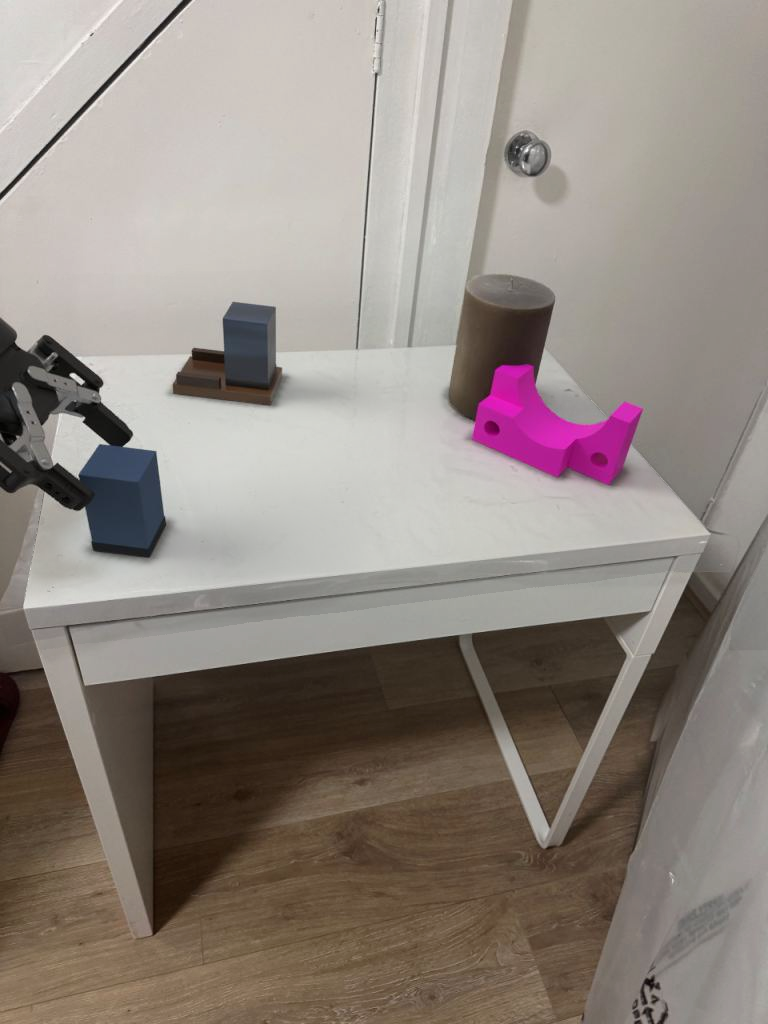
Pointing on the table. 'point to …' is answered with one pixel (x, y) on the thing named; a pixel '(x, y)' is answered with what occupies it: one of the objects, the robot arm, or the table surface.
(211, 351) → the stand
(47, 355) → the robot arm
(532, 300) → the pillar candle
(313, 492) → the table surface
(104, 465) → the blue rectangular block
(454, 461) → the table surface
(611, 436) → the magenta pipe saddle clamp
